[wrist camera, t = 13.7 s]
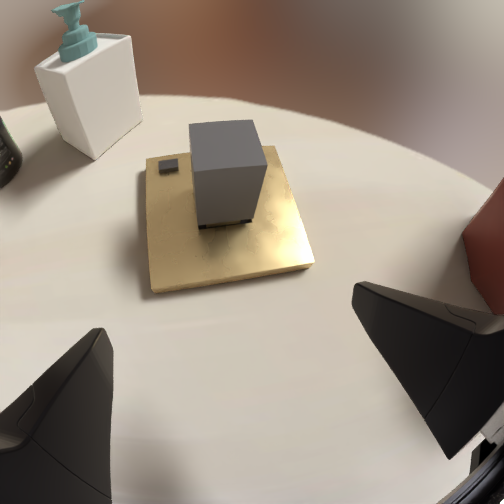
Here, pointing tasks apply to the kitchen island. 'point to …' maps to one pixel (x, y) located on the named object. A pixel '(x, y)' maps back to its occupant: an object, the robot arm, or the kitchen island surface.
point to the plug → (226, 171)
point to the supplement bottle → (8, 155)
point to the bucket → (488, 250)
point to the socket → (219, 230)
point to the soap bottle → (90, 86)
